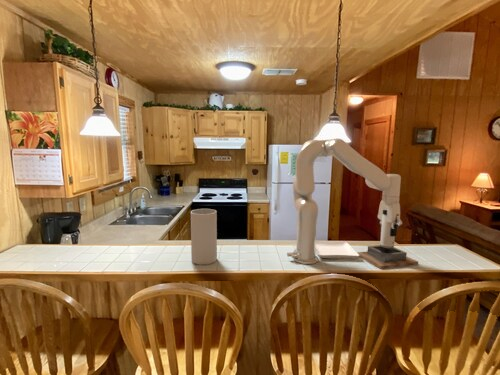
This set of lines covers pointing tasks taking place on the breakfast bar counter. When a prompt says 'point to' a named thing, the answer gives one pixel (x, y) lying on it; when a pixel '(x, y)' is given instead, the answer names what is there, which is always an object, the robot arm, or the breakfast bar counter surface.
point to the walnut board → (383, 265)
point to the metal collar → (391, 255)
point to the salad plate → (335, 250)
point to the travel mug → (386, 232)
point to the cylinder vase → (204, 236)
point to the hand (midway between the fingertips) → (388, 233)
